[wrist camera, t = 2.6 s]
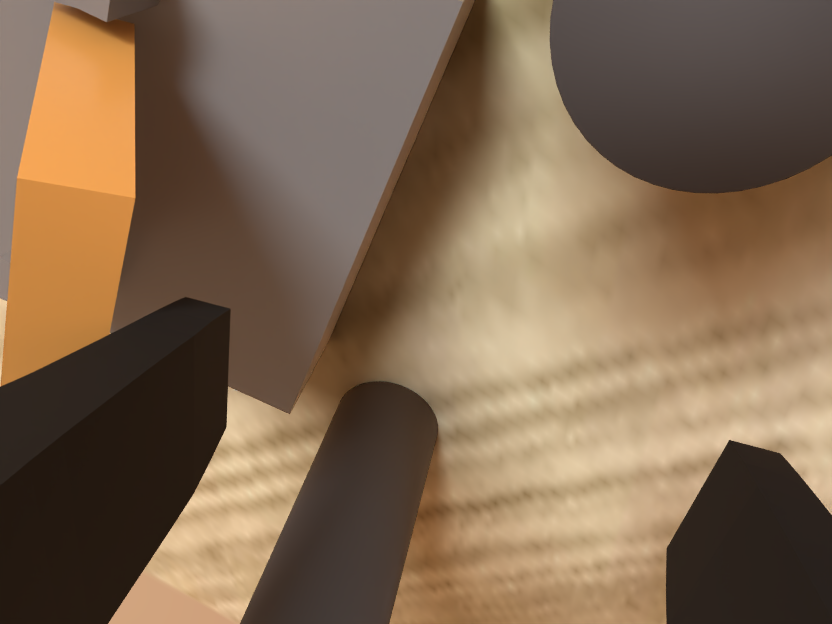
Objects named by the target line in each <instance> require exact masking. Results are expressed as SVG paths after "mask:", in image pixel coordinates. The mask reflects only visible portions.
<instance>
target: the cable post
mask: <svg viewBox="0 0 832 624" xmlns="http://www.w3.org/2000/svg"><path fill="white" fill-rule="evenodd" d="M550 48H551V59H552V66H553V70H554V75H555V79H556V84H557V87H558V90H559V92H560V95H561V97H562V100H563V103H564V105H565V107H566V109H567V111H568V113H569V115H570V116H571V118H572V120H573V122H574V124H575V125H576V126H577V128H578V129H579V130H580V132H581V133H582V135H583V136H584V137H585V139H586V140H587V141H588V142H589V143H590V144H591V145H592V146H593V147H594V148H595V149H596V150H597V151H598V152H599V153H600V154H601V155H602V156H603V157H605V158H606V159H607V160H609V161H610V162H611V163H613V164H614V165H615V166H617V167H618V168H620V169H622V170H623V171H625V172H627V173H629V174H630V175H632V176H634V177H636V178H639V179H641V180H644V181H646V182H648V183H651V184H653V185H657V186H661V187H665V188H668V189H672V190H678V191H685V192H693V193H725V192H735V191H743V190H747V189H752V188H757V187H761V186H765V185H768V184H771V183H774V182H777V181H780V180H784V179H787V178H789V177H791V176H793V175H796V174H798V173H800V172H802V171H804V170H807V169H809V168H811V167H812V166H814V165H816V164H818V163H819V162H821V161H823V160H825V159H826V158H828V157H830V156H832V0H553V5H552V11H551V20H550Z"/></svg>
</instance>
